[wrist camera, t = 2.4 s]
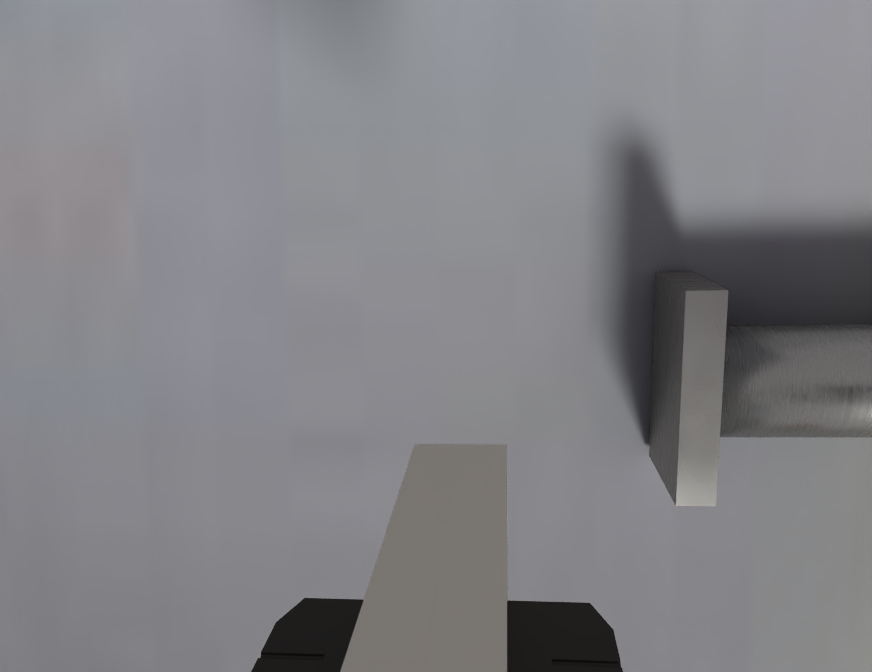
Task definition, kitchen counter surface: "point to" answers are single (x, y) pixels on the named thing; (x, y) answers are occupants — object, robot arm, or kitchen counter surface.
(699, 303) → the pin
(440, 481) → the robot arm
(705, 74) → the kitchen counter surface
